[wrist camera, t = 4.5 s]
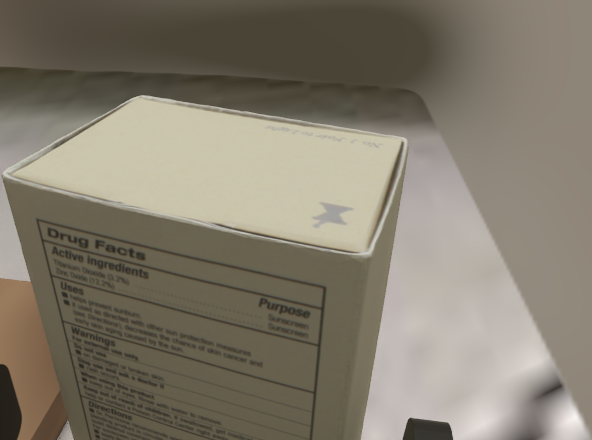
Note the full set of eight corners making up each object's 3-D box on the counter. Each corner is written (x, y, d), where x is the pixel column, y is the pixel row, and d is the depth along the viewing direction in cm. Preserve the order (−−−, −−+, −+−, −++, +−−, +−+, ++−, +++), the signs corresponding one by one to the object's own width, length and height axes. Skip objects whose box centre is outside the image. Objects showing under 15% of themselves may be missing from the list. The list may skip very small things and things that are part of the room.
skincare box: (351, 499, 17) (427, 137, 11) (311, 662, 14) (387, 260, 7) (170, 437, 19) (141, 85, 12) (89, 569, 15) (-12, 166, 9)
